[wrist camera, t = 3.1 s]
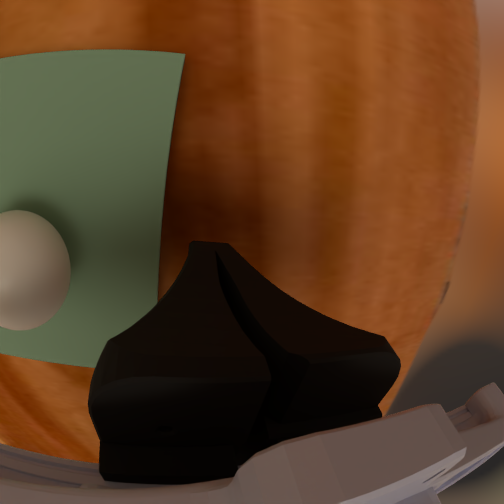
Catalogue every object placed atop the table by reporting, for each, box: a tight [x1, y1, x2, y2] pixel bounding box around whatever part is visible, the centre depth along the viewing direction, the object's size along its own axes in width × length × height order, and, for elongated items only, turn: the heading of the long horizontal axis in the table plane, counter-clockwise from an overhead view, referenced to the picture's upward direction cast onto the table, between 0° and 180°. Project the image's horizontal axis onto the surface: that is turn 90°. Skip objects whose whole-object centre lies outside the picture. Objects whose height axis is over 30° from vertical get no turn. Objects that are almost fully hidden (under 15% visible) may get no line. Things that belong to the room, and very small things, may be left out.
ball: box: [0, 210, 71, 330], centre depth 8 cm, size 4×4×4 cm
